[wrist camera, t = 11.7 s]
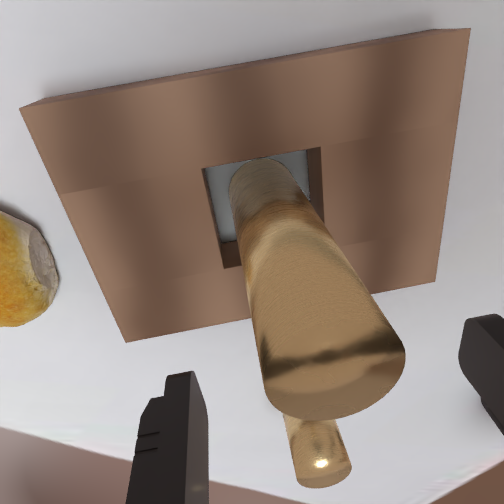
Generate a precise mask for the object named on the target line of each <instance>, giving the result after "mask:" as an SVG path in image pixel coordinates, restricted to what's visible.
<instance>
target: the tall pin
mask: <svg viewBox="0 0 504 504" xmlns="http://www.w3.org/2000/svg"><path fill="white" fill-rule="evenodd" d="M229 198H230V203H231V209H232V214H233V220H234V225H235V231H236V236H237V242H238V247H239V253H240V258H241V264H242V269H243V274H244V280H245V285H246V291H247V296H248V302H249V307H250V313H251V318H252V324H253V329H254V335H255V340H256V346H257V351H258V356H259V362H260V367H261V373H262V378H263V384H264V389H265V393H266V396H267V397H268V399H269V401H270V402H271V403H272V405H273V406H274V407H275V408H277V409H278V410H279V411H281V412H282V413H284V414H286V415H288V416H291V417H294V418H297V419H302V420H310V421H324V420H332V419H338V418H342V417H346V416H349V415H352V414H355V413H357V412H359V411H362V410H364V409H366V408H368V407H369V406H371V405H373V404H374V403H376V402H377V401H379V400H380V399H381V398H383V397H384V396H385V395H386V394H387V393H388V392H389V391H390V390H391V389H392V388H393V387H394V385H395V384H396V383H397V381H398V380H399V378H400V376H401V374H402V372H403V369H404V365H405V349H404V346H403V344H402V341H401V340H400V338H399V337H398V335H397V334H396V332H395V331H394V329H393V328H392V326H391V325H390V323H389V322H388V320H387V319H386V317H385V316H384V314H383V313H382V311H381V310H380V308H379V307H378V305H377V304H376V302H375V301H374V299H373V298H372V296H371V295H370V293H369V291H368V290H367V288H366V287H365V285H364V284H363V282H362V281H361V279H360V278H359V276H358V275H357V273H356V272H355V270H354V269H353V267H352V266H351V264H350V263H349V261H348V260H347V258H346V257H345V255H344V254H343V252H342V251H341V249H340V248H339V246H338V245H337V243H336V242H335V240H334V238H333V237H332V235H331V234H330V232H329V231H328V229H327V228H326V226H325V225H324V223H323V222H322V220H321V219H320V217H319V216H318V214H317V213H316V211H315V210H314V208H313V207H312V205H311V204H310V202H309V201H308V199H307V198H306V196H305V195H304V193H303V192H302V190H301V189H300V187H299V186H298V184H297V182H296V181H295V179H294V178H293V176H292V175H291V173H290V172H289V170H288V169H287V168H286V167H285V166H284V165H282V164H281V163H279V162H277V161H275V160H271V159H256V160H252V161H250V162H248V163H246V164H244V165H243V166H242V167H240V168H239V169H238V170H237V172H236V173H235V174H234V176H233V177H232V180H231V182H230V186H229Z"/></svg>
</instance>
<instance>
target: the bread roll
mask: <svg viewBox="0 0 504 504" xmlns="http://www.w3.org/2000/svg"><path fill="white" fill-rule="evenodd" d="M57 287H58V276H57V272H56V269H55V264H54V260H53V257H52V254H51V253H50V250H49V248H48V246H47V244H46V242H45V240H44V238H43V237H42V236H41V234H40V232H39V231H38V230H37V229H36V228H34V227H33V226H31V225H30V224H28V223H26V222H24V221H22V220H20V219H17V218H15V217H13V216H11V215H9V214H6V213H4V212H2V211H0V327H4V326H5V327H17V326H20V325H24V324H25V323H27V322H29V321H31V320H34V319H35V318H37V317H38V316H40V315H41V314H42V313H44V312H45V311H46V310H47V308H48V307H49V306H50V305H51V304H52V302H53V299H54V296H55V293H56V290H57Z"/></svg>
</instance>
